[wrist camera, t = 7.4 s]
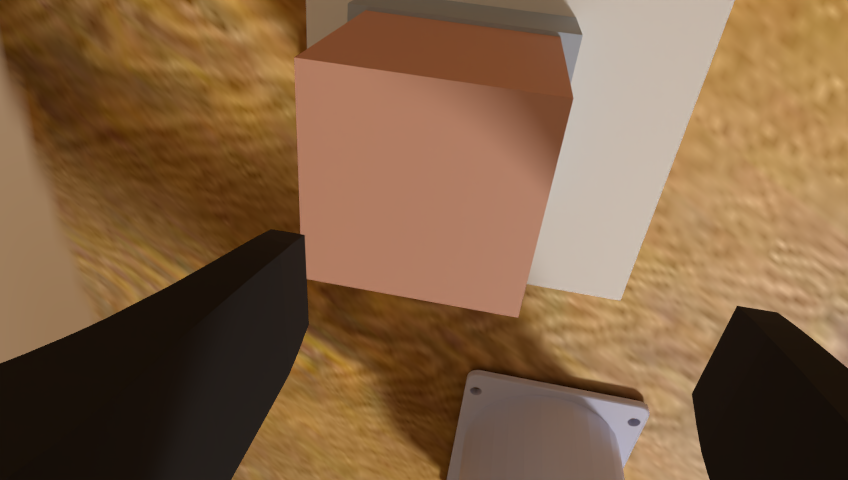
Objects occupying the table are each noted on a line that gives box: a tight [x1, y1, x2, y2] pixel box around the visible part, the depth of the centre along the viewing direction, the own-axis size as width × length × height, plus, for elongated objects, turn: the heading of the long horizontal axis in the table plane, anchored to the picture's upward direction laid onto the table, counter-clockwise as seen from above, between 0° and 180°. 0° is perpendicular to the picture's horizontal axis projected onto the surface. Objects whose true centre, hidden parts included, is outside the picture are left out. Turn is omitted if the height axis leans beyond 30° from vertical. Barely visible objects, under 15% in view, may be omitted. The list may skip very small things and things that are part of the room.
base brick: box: [347, 0, 583, 84], centre depth 16 cm, size 6×6×2 cm
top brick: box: [294, 10, 574, 318], centre depth 13 cm, size 5×5×5 cm
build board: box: [306, 0, 735, 300], centre depth 18 cm, size 11×12×1 cm
